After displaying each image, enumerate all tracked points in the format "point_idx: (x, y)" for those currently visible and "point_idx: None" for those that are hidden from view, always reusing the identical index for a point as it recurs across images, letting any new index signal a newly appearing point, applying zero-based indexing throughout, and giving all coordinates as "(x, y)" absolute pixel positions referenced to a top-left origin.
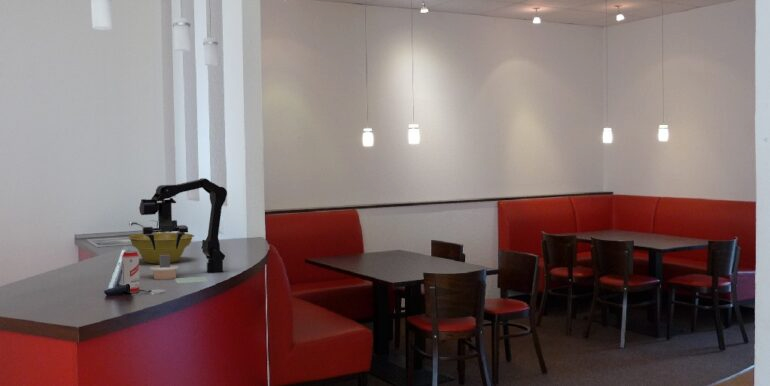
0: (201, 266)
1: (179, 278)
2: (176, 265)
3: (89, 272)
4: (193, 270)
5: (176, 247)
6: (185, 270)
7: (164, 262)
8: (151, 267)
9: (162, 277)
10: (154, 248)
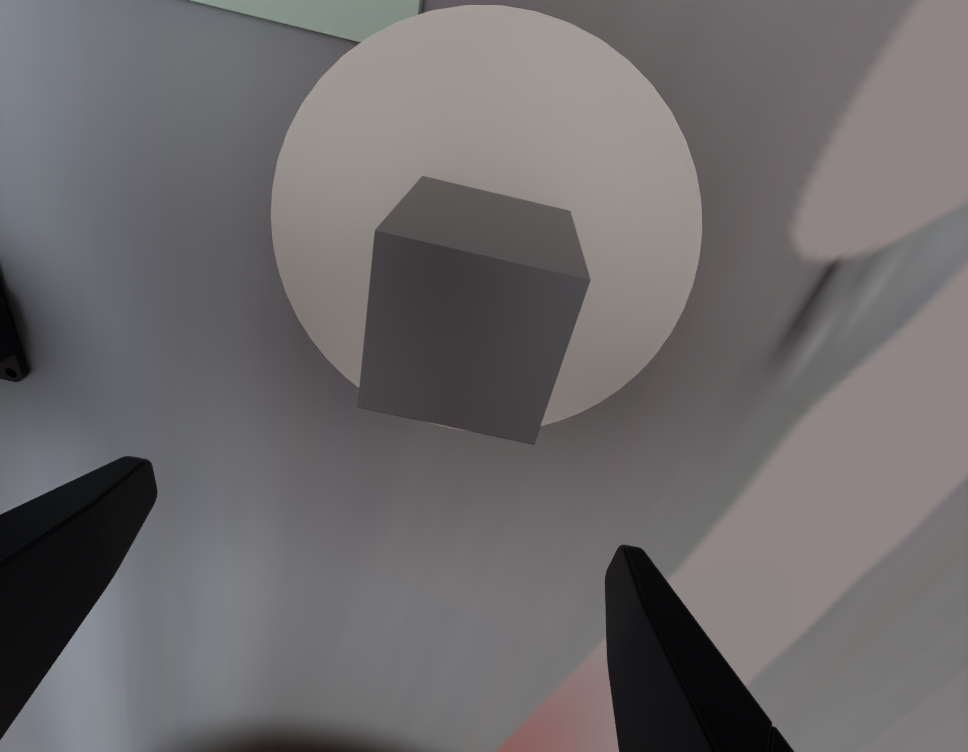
0: (111, 617)
1: (346, 13)
2: (301, 289)
3: (808, 743)
4: (166, 514)
5: (121, 474)
6: (229, 542)
7: (504, 215)
8: (670, 301)
9: None
10: (652, 570)
